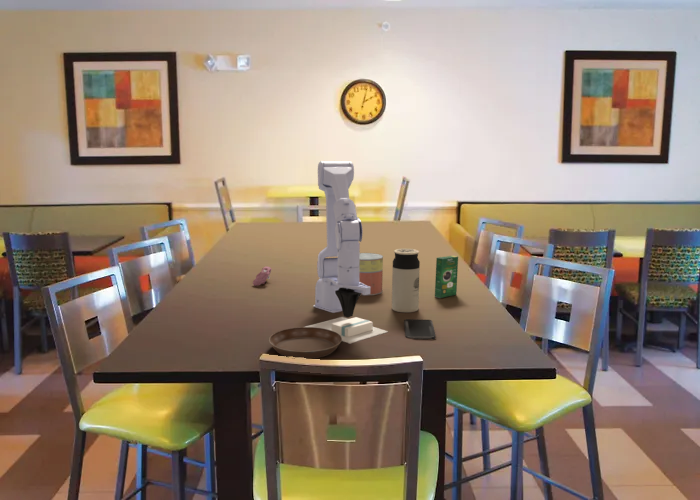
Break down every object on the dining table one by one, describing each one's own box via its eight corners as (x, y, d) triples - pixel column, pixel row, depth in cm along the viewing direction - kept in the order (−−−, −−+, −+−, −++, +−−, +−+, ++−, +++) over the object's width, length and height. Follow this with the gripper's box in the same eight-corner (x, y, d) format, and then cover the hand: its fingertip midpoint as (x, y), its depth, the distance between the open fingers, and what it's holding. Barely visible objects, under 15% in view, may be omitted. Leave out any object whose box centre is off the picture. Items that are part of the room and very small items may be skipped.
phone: (405, 336, 160) (404, 319, 175) (405, 340, 160) (403, 322, 175) (436, 336, 160) (432, 319, 174) (436, 341, 160) (432, 323, 175)
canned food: (389, 292, 208) (390, 257, 205) (361, 297, 201) (362, 260, 199) (369, 285, 217) (369, 251, 214) (342, 289, 210) (342, 255, 208)
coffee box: (450, 293, 207) (452, 254, 204) (457, 295, 205) (458, 255, 202) (434, 297, 202) (435, 257, 199) (440, 298, 200) (442, 258, 197)
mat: (304, 328, 168) (304, 326, 168) (342, 318, 178) (342, 316, 178) (349, 344, 156) (349, 343, 156) (388, 332, 165) (388, 331, 165)
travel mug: (386, 309, 187) (387, 250, 184) (402, 304, 193) (404, 247, 189) (407, 315, 181) (408, 254, 178) (423, 309, 187) (425, 250, 184)
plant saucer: (350, 358, 147) (350, 346, 146) (275, 366, 142) (275, 353, 141) (331, 335, 163) (331, 324, 163) (263, 341, 158) (263, 330, 158)
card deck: (331, 323, 164) (347, 328, 159) (356, 316, 170) (372, 321, 165) (331, 331, 164) (347, 337, 160) (356, 325, 170) (372, 330, 166)
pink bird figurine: (263, 290, 215) (272, 273, 214) (251, 284, 215) (260, 267, 213) (266, 283, 225) (275, 267, 224) (255, 278, 224) (263, 261, 223)
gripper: (318, 263, 165) (319, 313, 168) (356, 272, 155) (356, 325, 157) (338, 260, 170) (338, 308, 173) (376, 268, 160) (375, 319, 162)
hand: (348, 316), depth 165 cm, fingers closed
